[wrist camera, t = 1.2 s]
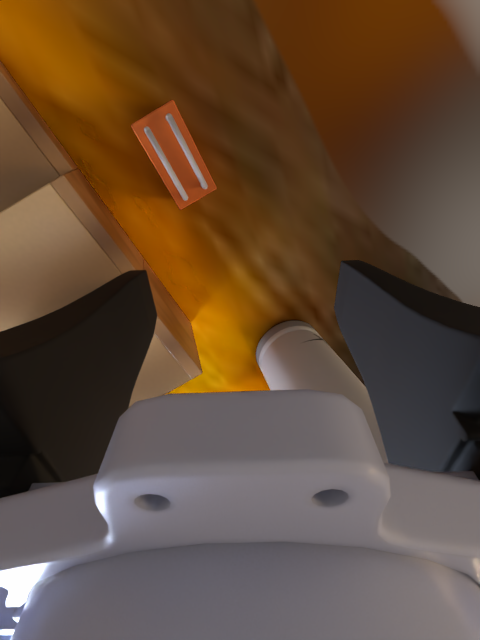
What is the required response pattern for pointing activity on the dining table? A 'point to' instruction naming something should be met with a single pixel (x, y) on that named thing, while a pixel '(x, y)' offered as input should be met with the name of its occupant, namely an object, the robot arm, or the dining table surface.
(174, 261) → the dining table surface
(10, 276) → the step shelf
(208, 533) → the robot arm
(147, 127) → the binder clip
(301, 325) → the travel mug
